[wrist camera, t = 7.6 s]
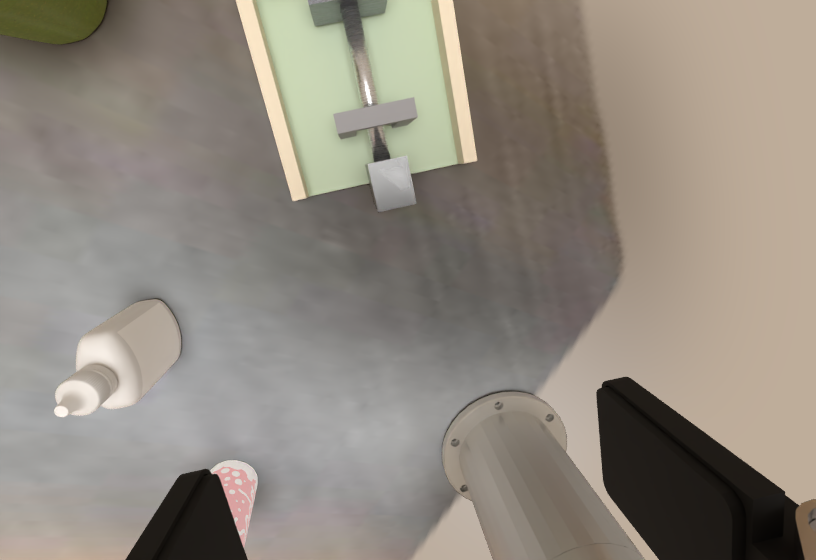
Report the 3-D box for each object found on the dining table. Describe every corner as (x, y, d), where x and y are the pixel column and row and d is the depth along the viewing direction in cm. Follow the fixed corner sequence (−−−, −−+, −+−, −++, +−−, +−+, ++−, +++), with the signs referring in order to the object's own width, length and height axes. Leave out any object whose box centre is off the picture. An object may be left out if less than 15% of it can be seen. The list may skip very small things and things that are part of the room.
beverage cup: (260, 510, 40) (214, 681, 27) (194, 503, 39) (111, 678, 26) (271, 457, 39) (228, 609, 26) (202, 448, 38) (120, 603, 24)
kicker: (420, 193, 33) (435, 199, 26) (358, 206, 32) (358, 216, 26) (379, -13, 29) (386, -63, 22) (308, 0, 28) (295, -47, 22)
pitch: (466, 161, 34) (498, 159, 26) (298, 198, 33) (281, 207, 26) (419, -137, 28) (442, -246, 21) (214, -102, 27) (161, -203, 20)
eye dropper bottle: (194, 307, 34) (114, 378, 23) (177, 366, 36) (93, 461, 24) (138, 291, 33) (25, 356, 22) (123, 352, 35) (8, 444, 23)
